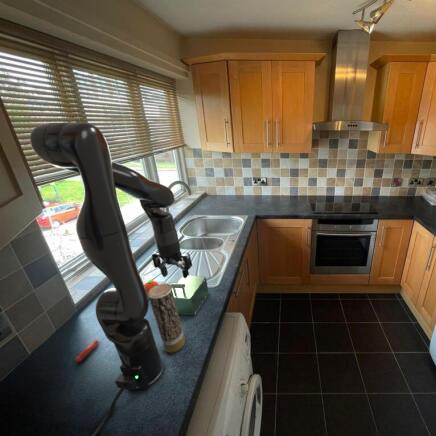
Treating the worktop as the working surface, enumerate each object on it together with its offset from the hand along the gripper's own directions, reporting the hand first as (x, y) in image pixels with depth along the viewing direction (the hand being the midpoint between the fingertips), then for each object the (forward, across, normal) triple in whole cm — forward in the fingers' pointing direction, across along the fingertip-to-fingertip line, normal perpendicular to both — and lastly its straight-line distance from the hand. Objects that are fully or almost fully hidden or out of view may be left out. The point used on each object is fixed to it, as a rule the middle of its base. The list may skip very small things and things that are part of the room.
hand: (175, 276), depth 93 cm
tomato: (+19, -21, +10) cm, 30 cm away
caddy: (+19, 0, +6) cm, 19 cm away
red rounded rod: (+18, -24, -22) cm, 37 cm away
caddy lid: (+10, 0, +5) cm, 11 cm away
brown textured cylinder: (+19, +5, -16) cm, 25 cm away
